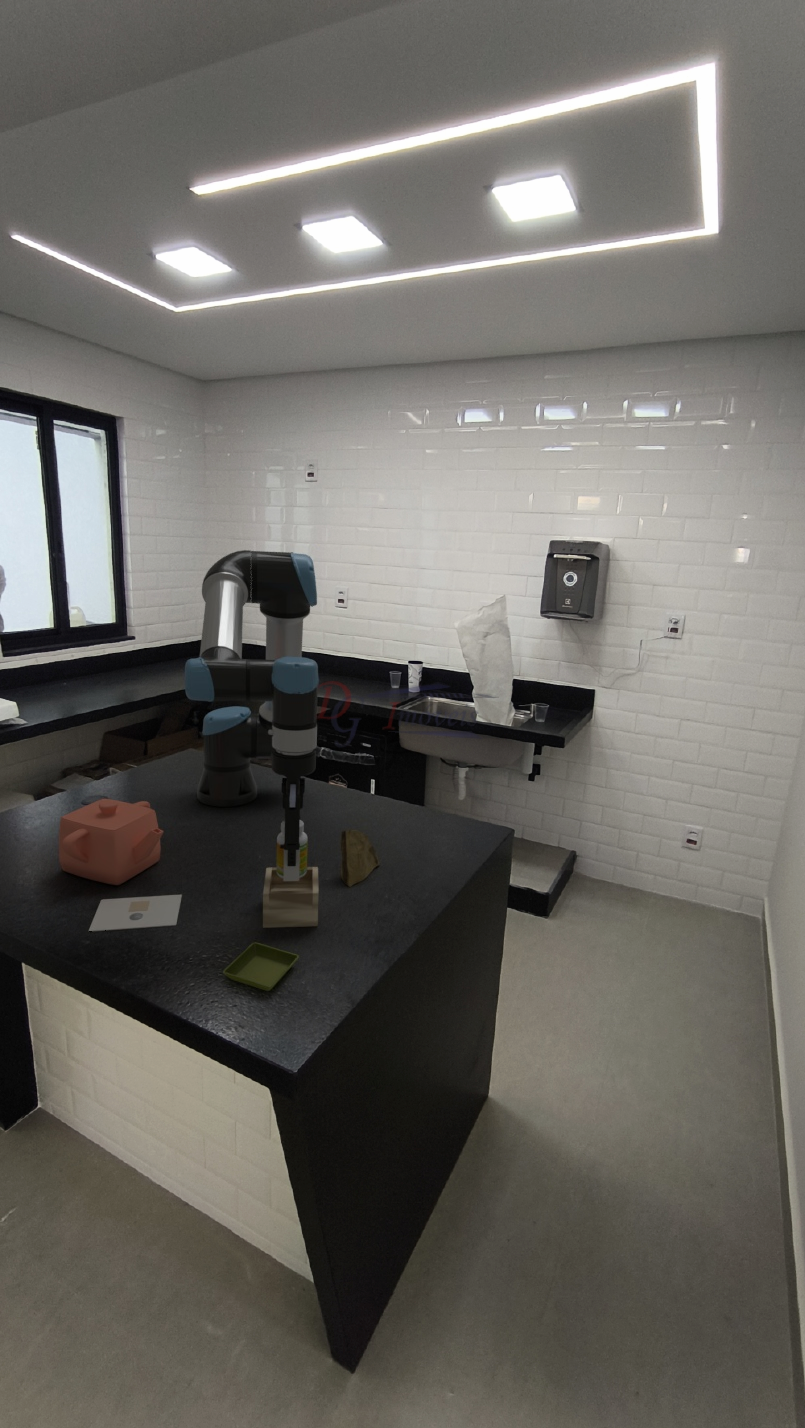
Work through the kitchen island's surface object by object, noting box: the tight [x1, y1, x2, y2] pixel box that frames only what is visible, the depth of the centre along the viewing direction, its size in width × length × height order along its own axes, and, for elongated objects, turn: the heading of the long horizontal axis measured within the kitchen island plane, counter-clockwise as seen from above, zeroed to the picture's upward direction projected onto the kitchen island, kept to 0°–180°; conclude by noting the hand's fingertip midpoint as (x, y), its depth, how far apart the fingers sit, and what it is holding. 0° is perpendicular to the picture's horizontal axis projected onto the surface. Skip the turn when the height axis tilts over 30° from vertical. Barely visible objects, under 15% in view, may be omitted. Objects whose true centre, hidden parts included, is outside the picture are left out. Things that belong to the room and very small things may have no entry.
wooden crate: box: [262, 866, 320, 929], centre depth 117 cm, size 10×10×6 cm
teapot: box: [58, 798, 165, 886], centre depth 127 cm, size 20×22×14 cm
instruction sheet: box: [88, 894, 183, 932], centre depth 115 cm, size 10×14×1 cm
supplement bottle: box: [275, 819, 308, 878], centre depth 114 cm, size 5×5×10 cm
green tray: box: [222, 942, 300, 992], centre depth 101 cm, size 9×9×2 cm
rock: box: [340, 829, 380, 888], centre depth 132 cm, size 11×9×10 cm
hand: (291, 871), depth 116 cm, fingers closed on supplement bottle, 5 cm apart
